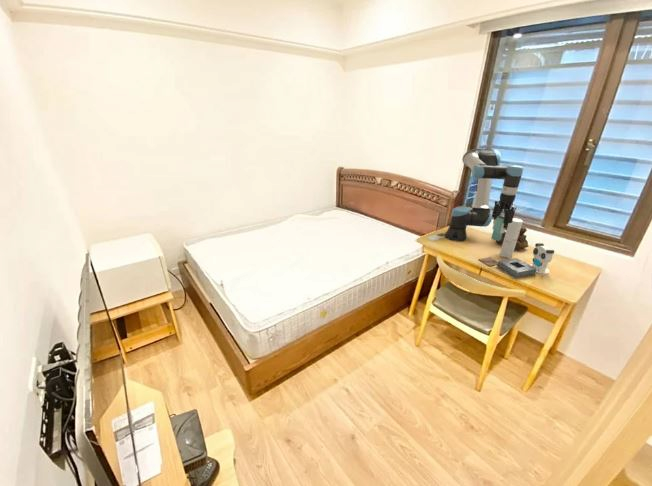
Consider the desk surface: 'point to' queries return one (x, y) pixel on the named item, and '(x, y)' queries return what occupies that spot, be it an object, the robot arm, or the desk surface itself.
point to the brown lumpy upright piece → (521, 239)
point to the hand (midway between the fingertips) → (498, 230)
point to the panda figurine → (542, 258)
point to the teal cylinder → (498, 228)
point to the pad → (489, 261)
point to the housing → (516, 268)
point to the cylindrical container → (511, 238)
